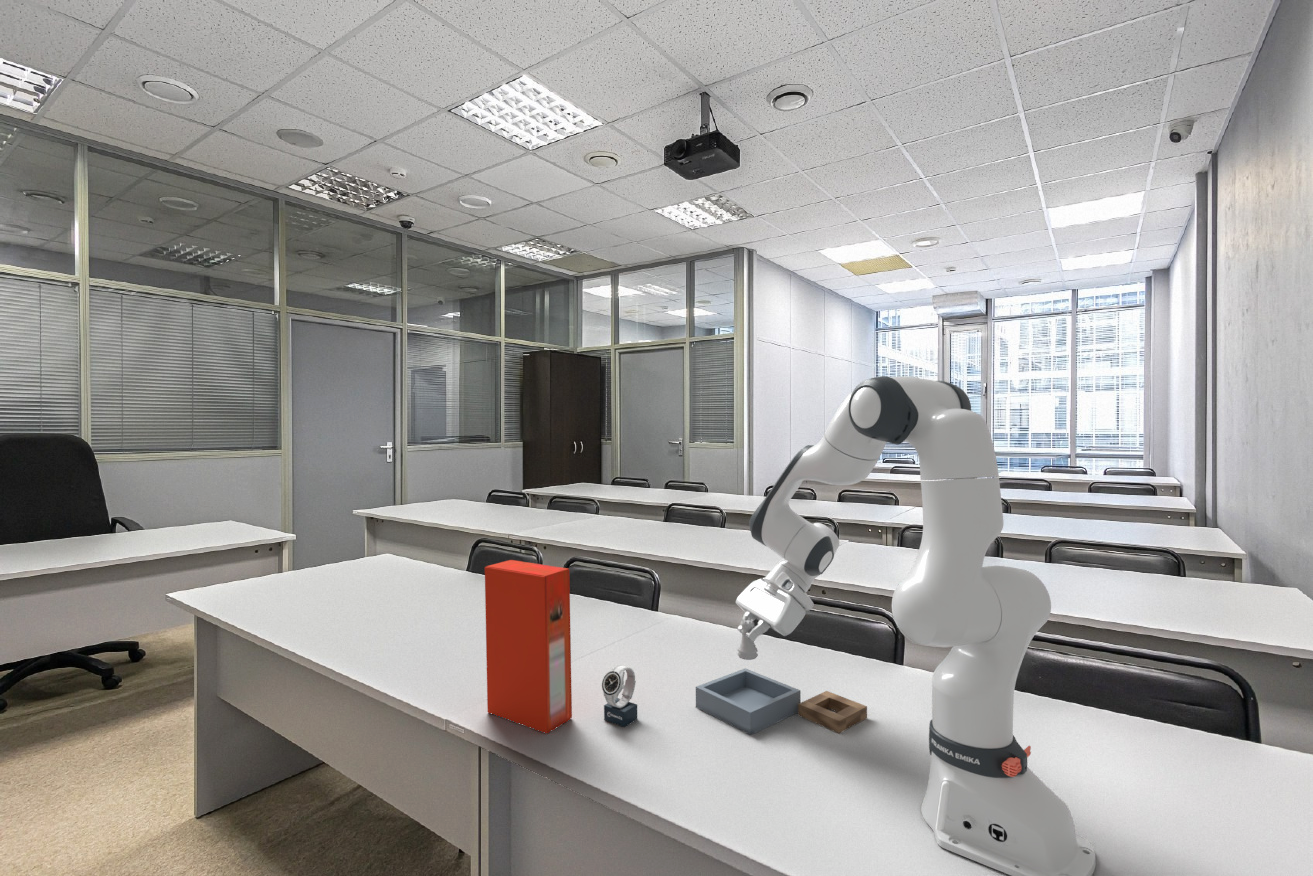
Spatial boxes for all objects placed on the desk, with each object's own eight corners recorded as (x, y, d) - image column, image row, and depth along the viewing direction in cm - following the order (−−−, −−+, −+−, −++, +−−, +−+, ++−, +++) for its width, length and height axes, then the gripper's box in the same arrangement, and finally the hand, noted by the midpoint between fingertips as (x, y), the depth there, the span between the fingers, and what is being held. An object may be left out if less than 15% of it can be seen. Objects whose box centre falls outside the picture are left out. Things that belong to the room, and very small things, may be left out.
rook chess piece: (743, 651, 135) (743, 615, 134) (761, 655, 132) (761, 619, 132) (733, 657, 131) (733, 620, 131) (751, 662, 128) (751, 624, 128)
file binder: (545, 735, 121) (543, 576, 121) (486, 713, 130) (484, 566, 130) (571, 718, 128) (570, 568, 128) (514, 699, 137) (512, 559, 137)
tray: (800, 711, 130) (800, 690, 130) (750, 735, 120) (750, 712, 120) (745, 687, 143) (745, 668, 143) (695, 707, 133) (695, 686, 133)
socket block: (867, 718, 127) (867, 706, 127) (839, 733, 121) (839, 721, 121) (826, 701, 135) (826, 690, 135) (798, 715, 128) (798, 703, 128)
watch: (597, 723, 126) (597, 671, 126) (622, 709, 132) (622, 659, 132) (618, 731, 122) (618, 677, 122) (642, 716, 129) (642, 664, 129)
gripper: (753, 567, 143) (715, 612, 140) (799, 588, 124) (757, 641, 121) (770, 584, 145) (733, 629, 142) (818, 607, 125) (777, 660, 122)
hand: (744, 635), depth 131 cm, fingers closed on rook chess piece, 3 cm apart
